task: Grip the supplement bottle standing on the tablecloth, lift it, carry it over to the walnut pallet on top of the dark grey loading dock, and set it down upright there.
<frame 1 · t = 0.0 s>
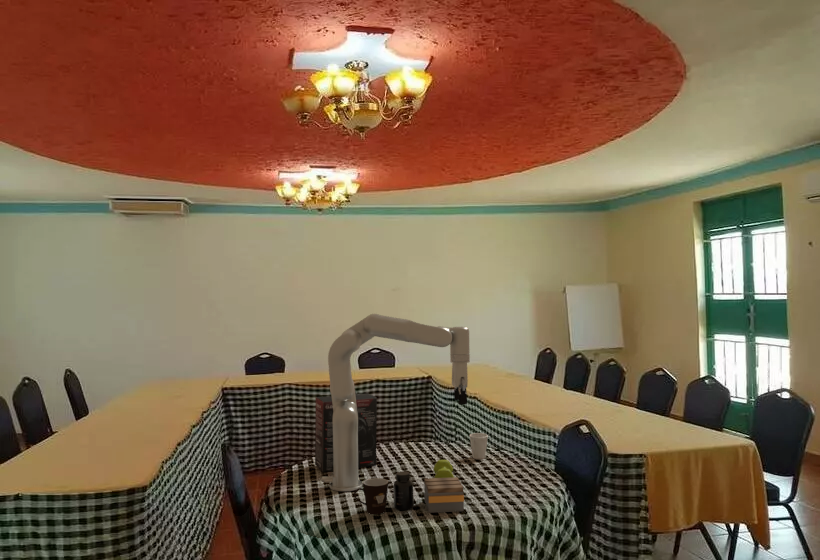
hand: (460, 402, 250), 31 cm above the table, tool pointing down, fingers open, 9 cm apart
dock: (443, 505, 222), on the table
headset box: (346, 466, 274), on the table
pallet: (443, 487, 222), resting on dock
coffee mug: (371, 512, 218), on the table
dixie cup: (478, 457, 284), on the table
dumbbell: (443, 483, 249), on the table
supplement bottle: (403, 508, 221), on the table
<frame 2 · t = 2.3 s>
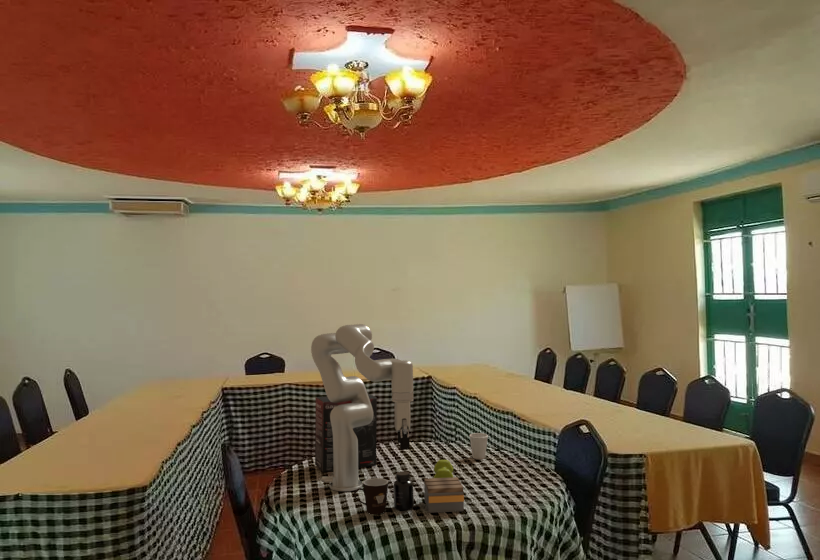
hand: (403, 445, 221), 21 cm above the table, tool pointing down, fingers open, 9 cm apart
nothing on the table moved.
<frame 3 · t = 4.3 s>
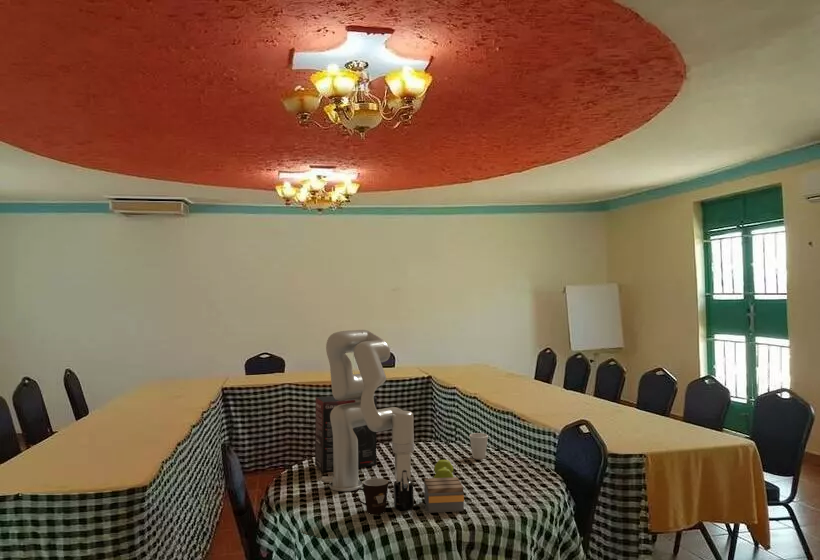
hand: (403, 498, 221), 3 cm above the table, tool pointing down, fingers closed on supplement bottle, 6 cm apart
supplement bottle: (403, 508, 221), on the table, touching gripper
everything else where it was.
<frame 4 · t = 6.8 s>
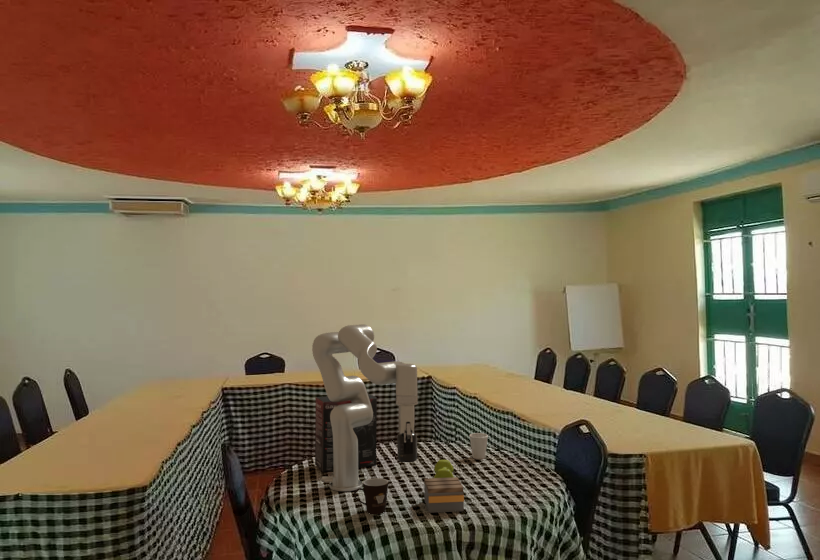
hand: (407, 450, 221), 20 cm above the table, tool pointing down, fingers closed on supplement bottle, 6 cm apart
supplement bottle: (407, 460, 221), point 16 cm above the table, touching gripper
everything else where it was.
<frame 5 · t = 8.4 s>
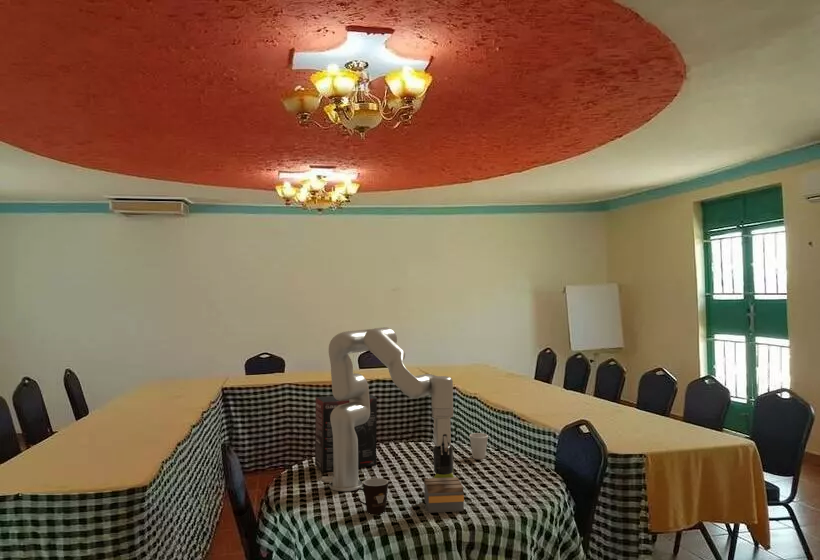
hand: (443, 462, 222), 15 cm above the table, tool pointing down, fingers closed on supplement bottle, 6 cm apart
supplement bottle: (443, 472, 222), point 12 cm above the table, touching gripper
everything else where it was.
when the fingers open (13 cm above the table, at t = 9.3 s): supplement bottle drops 2 cm, resting on pallet.
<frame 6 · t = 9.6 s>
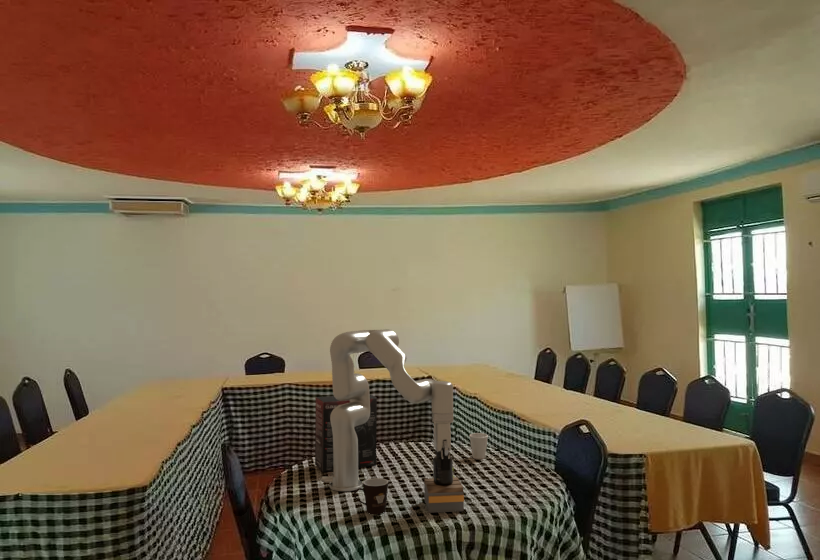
hand: (443, 466, 222), 14 cm above the table, tool pointing down, fingers open, 9 cm apart
supplement bottle: (443, 483, 222), point 8 cm above the table, touching pallet
everything else where it was.
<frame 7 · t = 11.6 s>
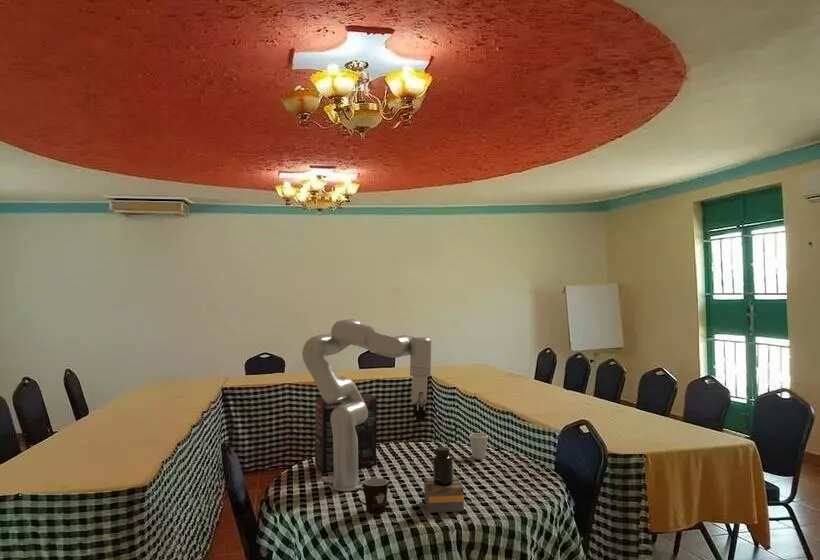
hand: (419, 418, 232), 29 cm above the table, tool pointing down, fingers open, 9 cm apart
nothing on the table moved.
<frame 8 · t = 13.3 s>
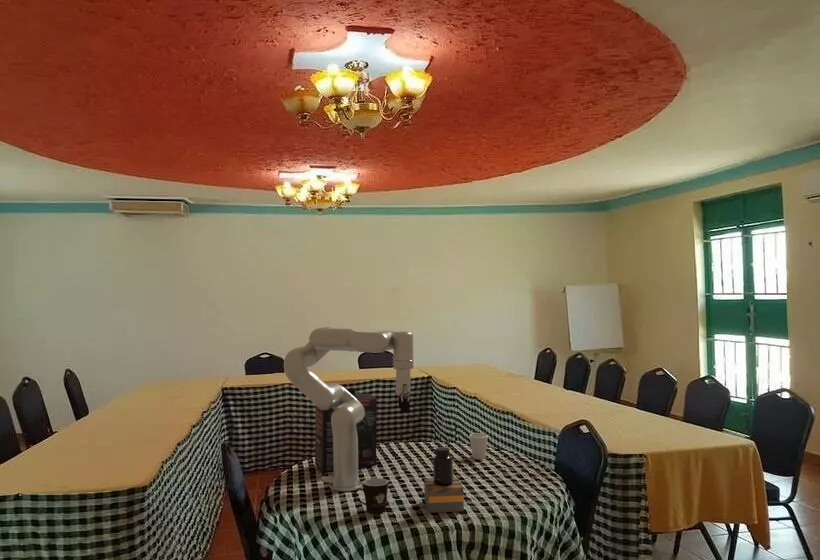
hand: (403, 410, 239), 30 cm above the table, tool pointing down, fingers open, 9 cm apart
nothing on the table moved.
at the end: supplement bottle inside the target area on the dock (0.2 cm from its centre), point 7.8 cm above the dock's base; supplement bottle tilted 0°; the gripper is holding nothing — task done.
